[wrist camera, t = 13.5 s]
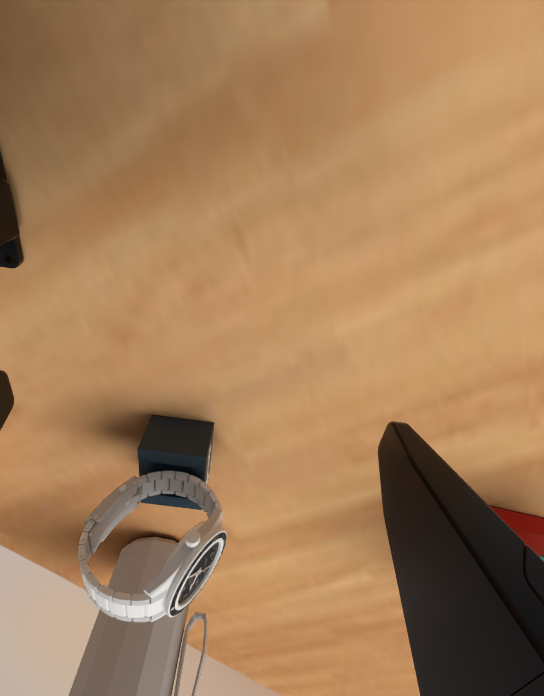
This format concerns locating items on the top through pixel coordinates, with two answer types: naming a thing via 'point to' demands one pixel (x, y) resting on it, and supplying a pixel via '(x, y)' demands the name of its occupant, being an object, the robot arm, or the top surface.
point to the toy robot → (525, 528)
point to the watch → (170, 490)
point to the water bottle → (136, 635)
